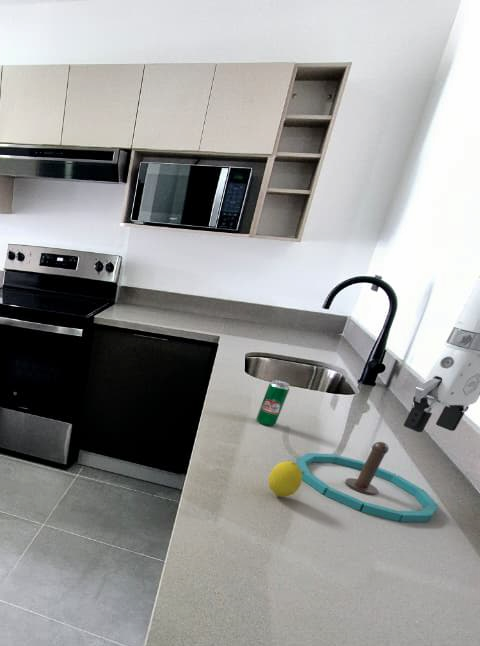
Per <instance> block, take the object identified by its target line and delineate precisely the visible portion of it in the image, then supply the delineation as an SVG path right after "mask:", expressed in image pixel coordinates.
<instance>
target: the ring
mask: <svg viewBox="0 0 480 646" xmlns="http://www.w3.org/2000/svg"><path fill="white" fill-rule="evenodd" d="M311 463H327V464H337V465H340V466H344V467H348V468H353V469H357V470H360V471H362V469H363V467H364V465H365V463H366V461H365V462H364V461H363V460H358V459H354V458H350V457H347V456H342V455H337V454H332V453H317V452H316V453H315V452H309V453H308V452H307V453H306V454H303V455H302V456H300V457H299V458H297V459H296V461H295V464H296V465H298V466H299V468H300V469H301V471H302V481H303V482H305V483H306V484H308V485H309V486H310V485H311V486H310V487H312V488H313V489H314V490H316V491H317V490H318V491H317V492H318V493H320V494H321V493H322V494H321V495H324V496H325V497H327V498H329V499H331V498H332V499H331V500H333V499H334V500H333V501H335V502H338V503H341V505H342V504H343V505H344V506H346V507H349V508H351V509H353V510H356V511H357V512H358V511H360V512H361V513H364V514H368V515H372V516H374V517H379V518H383V519H387V520H391V521H394V522H400V523H427V522H429V521H430V520H431V518H433V516H434V514H436V511H437V510H438V508H439V504H437V502H436V501H435V500H434V499H433V498H432V497H431V496H430V495H429V494H428V492H427V491H425V489H423V488H421V487H419V486H418V485H416V484H414V483H412V482H411V481H409V480H408V479H406V478H404V477H402V476H400V475H397V474H396V473H394V472H391V471H389V470H387V469H383V468H381V467H380V466H379V467H378V469H377V471H376V473H375V475H374V477H375V476H376V477H378V478H381V479H383V480H386V481H388V482H390V483H392V484H394V485H395V486H397V487H399V488H400V489H402V490H404V491H405V492H407V493H408V494H410V495H412V496H414V497H415V499H416V500H417V501H418V502H419V504H421V506H422V507H423V509H422V510H397V509H393V508H389V507H385V506H381V505H377V504H374V503H370V502H366V501H363V500H361V499H358V498H356V497H354V496H351V495H348V494H347V493H344V492H342V491H340V490H337V489H335V488H333V487H331V486H330V485H328V484H327V483H325V482H324V481H322V480H321V479H320V478H318V477H317V476H315V475H314V474H312V473H311V472H310V470H309V468H308V466H309V464H311Z"/></svg>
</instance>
